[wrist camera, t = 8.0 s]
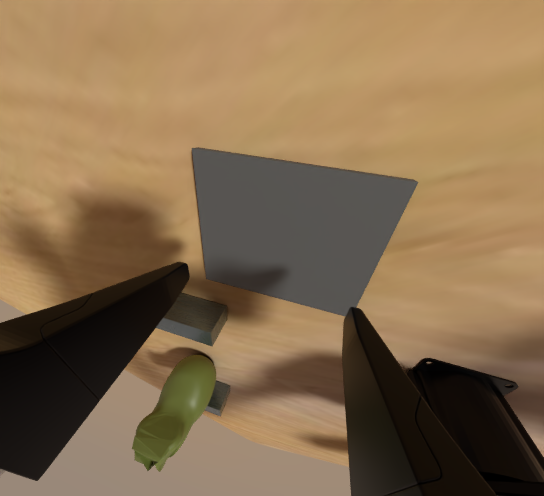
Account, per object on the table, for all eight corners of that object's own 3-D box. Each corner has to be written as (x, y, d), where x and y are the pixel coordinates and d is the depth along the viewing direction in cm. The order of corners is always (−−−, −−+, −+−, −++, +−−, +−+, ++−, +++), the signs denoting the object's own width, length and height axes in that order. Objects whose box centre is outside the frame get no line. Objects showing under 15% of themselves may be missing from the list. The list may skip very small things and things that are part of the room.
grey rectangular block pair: (226, 306, 19) (210, 333, 16) (230, 391, 29) (220, 416, 26) (163, 287, 20) (139, 310, 17) (188, 376, 30) (175, 398, 27)
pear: (189, 363, 27) (128, 463, 19) (182, 341, 25) (107, 447, 16) (225, 375, 26) (177, 486, 18) (222, 354, 24) (164, 474, 15)
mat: (413, 179, 10) (418, 182, 9) (350, 311, 15) (350, 317, 14) (197, 147, 12) (191, 148, 11) (209, 274, 17) (206, 278, 16)
